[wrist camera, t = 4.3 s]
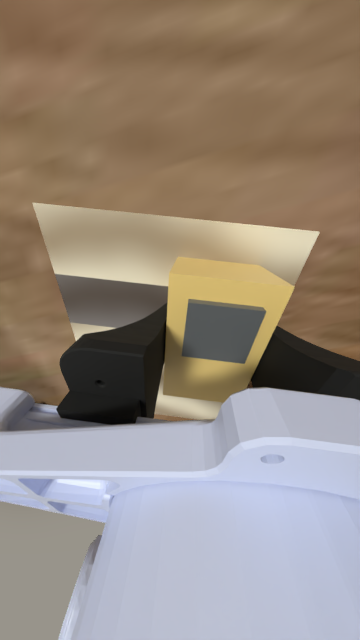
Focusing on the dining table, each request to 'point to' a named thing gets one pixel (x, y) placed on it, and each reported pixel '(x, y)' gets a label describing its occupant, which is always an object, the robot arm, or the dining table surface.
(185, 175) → the dining table surface
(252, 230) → the panel
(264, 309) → the stud finder
